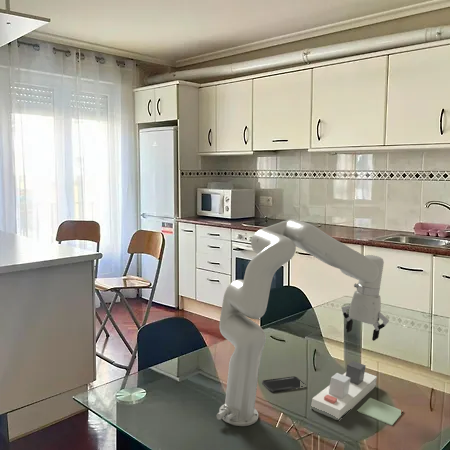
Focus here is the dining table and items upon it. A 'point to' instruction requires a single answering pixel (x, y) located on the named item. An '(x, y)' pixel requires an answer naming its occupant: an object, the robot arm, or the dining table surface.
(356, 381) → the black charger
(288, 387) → the phone
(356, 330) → the dining table surface
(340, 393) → the block
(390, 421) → the green mat
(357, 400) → the power strip
